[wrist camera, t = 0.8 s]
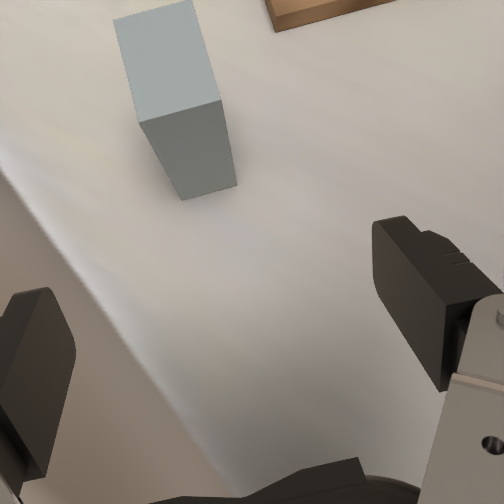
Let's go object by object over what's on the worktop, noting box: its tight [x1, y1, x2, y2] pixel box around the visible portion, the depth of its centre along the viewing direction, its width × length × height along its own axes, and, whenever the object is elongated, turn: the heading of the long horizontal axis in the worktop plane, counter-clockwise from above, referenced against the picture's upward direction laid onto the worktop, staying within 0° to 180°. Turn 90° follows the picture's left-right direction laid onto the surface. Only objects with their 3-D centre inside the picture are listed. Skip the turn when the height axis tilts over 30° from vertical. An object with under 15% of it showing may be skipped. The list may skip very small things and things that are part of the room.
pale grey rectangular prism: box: [113, 0, 237, 201], centre depth 25 cm, size 4×5×10 cm
